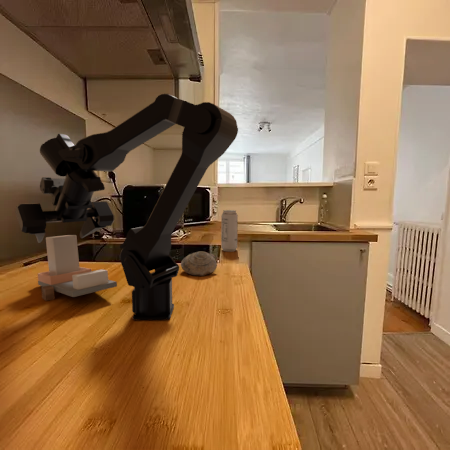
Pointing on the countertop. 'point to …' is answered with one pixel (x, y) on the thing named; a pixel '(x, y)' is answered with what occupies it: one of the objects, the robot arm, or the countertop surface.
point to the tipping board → (76, 292)
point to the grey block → (62, 254)
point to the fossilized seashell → (199, 263)
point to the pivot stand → (47, 293)
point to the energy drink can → (229, 230)
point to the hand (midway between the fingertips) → (60, 238)
